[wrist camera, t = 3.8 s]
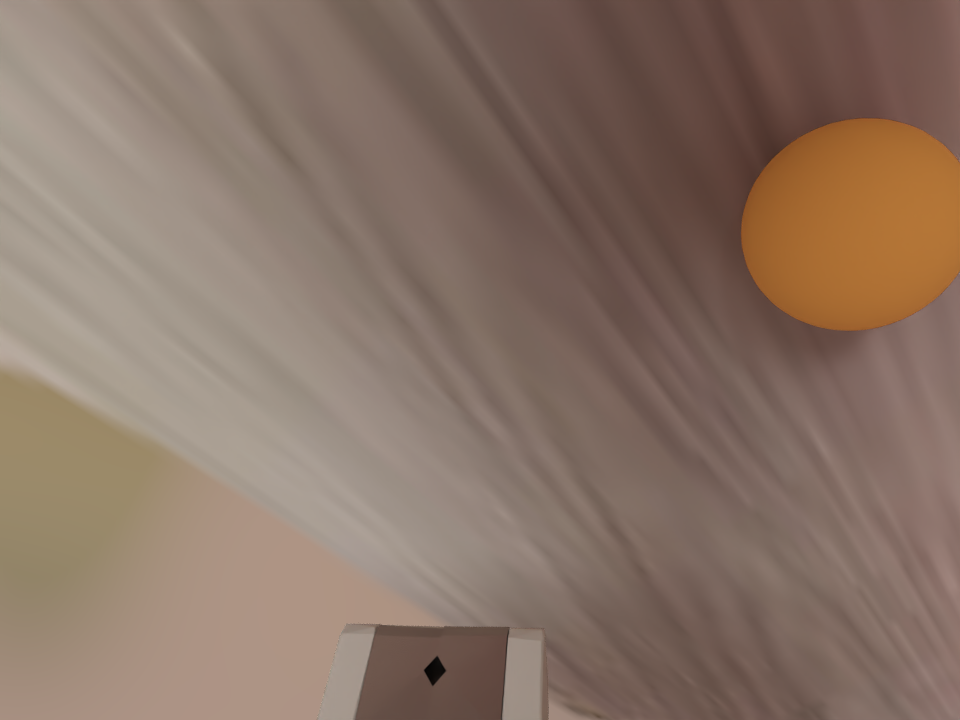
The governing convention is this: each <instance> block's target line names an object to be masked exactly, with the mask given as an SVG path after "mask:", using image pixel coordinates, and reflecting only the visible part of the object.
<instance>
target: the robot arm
mask: <svg viewBox="0 0 960 720" xmlns="http://www.w3.org/2000/svg"><path fill="white" fill-rule="evenodd" d="M548 708H549V707H548V673H547V657H546V641H545V630H544V628H511V629H510V628H509V627H450V626H444V627H432V626H395V625H380V624H346V626H345V628H344V629H343V631H342V633H341V635H340V637H339V641H338V645H337V649H336V652H335V656H334V659H333V663H332V666H331V670H330V674H329V677H328V681H327V685H326V689H325V692H324V696H323V699H322V703H321V707H320V710H319V714H318V717H317V720H548Z"/></svg>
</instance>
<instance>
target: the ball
mask: <svg viewBox="0 0 960 720" xmlns="http://www.w3.org/2000/svg"><path fill="white" fill-rule="evenodd" d="M741 241H742V249H743V253H744V257H745V261H746V264H747V267H748V269H749V272H750V274H751V276H752V278H753V279H754V281H755V283H756V284H757V286H758V287H759V289H760V290H761V291H762V292H763V293H764V294H765V296H766V297H767V298H768V299H769V300H770V301H771V302H772V303H773V304H774V305H776V306H777V307H778V308H780V309H781V310H782V311H784V312H785V313H787V314H788V315H790V316H792V317H794V318H796V319H797V320H800V321H802V322H805V323H808V324H811V325H813V326H817V327H821V328H825V329H832V330H847V331H856V330H867V329H872V328H878V327H881V326H885V325H889V324H891V323H894V322H897V321H900V320H902V319H904V318H906V317H908V316H910V315H912V314H914V313H916V312H917V311H919V310H921V309H922V308H924V307H925V306H927V305H928V304H929V303H931V302H932V301H933V300H934V299H936V298H937V297H938V296H939V295H940V294H941V293H942V292H943V291H944V290H945V289H946V288H947V287H948V286H949V285H950V284H951V282H952V281H953V280H954V278H955V277H956V276H957V274H958V273H959V271H960V163H959V161H958V160H957V158H956V157H955V156H954V155H953V154H952V153H951V151H949V150H948V149H947V148H946V147H945V146H944V145H943V144H942V143H941V142H939V141H938V140H936V139H935V138H933V137H932V136H930V135H929V134H927V133H926V132H924V131H922V130H920V129H918V128H916V127H913V126H911V125H907V124H904V123H901V122H897V121H893V120H887V119H879V118H857V119H849V120H843V121H839V122H835V123H831V124H828V125H825V126H822V127H820V128H817V129H815V130H813V131H811V132H809V133H807V134H804V135H803V136H801V137H799V138H798V139H796V140H795V141H793V142H792V143H790V144H789V145H788V146H786V147H785V148H784V149H782V150H781V151H780V152H779V153H778V154H777V155H776V156H775V157H774V158H773V159H772V160H771V161H770V162H769V163H768V165H767V166H766V167H765V168H764V169H763V171H762V172H761V174H760V175H759V177H758V178H757V180H756V181H755V183H754V185H753V187H752V189H751V191H750V193H749V196H748V199H747V202H746V205H745V208H744V212H743V217H742V227H741Z"/></svg>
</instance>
